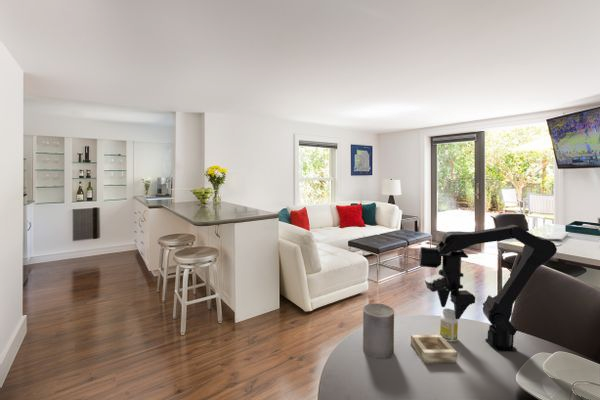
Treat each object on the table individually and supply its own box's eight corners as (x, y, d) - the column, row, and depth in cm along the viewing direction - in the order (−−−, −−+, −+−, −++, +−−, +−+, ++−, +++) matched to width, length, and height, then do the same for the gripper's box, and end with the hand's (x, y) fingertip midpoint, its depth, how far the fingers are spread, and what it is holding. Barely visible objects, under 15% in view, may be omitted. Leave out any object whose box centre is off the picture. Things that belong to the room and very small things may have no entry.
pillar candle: (379, 339, 101) (379, 297, 100) (400, 354, 93) (401, 308, 92) (356, 346, 97) (356, 302, 96) (376, 363, 88) (377, 315, 87)
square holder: (440, 344, 98) (440, 334, 98) (456, 363, 88) (457, 352, 88) (410, 344, 98) (410, 334, 98) (423, 363, 88) (424, 352, 88)
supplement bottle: (453, 334, 105) (454, 307, 104) (459, 342, 99) (461, 314, 99) (437, 333, 105) (438, 307, 105) (443, 341, 100) (444, 314, 99)
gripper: (416, 261, 110) (415, 301, 111) (442, 278, 91) (440, 326, 92) (446, 261, 110) (444, 301, 111) (477, 277, 91) (475, 326, 92)
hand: (449, 312), depth 102 cm, fingers open, 9 cm apart
